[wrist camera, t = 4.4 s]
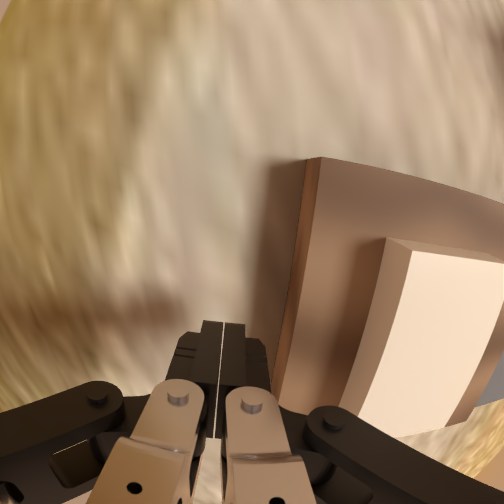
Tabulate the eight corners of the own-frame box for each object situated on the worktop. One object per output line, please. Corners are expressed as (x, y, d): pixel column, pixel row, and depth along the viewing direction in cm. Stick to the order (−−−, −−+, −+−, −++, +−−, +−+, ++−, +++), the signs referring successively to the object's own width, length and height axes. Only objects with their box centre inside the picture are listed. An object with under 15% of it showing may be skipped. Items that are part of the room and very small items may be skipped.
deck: (306, 159, 12) (321, 156, 10) (514, 211, 13) (542, 219, 11) (264, 416, 16) (267, 447, 14) (450, 400, 17) (465, 421, 14)
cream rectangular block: (386, 237, 11) (412, 250, 9) (486, 253, 11) (513, 265, 9) (334, 416, 13) (344, 444, 11) (428, 405, 13) (444, 427, 11)
